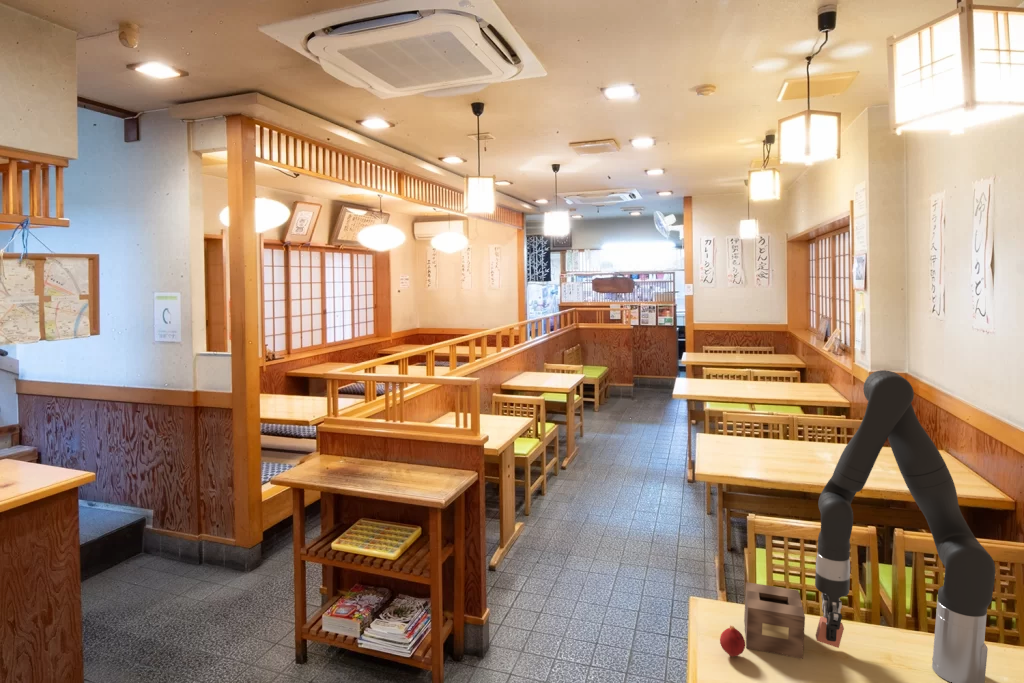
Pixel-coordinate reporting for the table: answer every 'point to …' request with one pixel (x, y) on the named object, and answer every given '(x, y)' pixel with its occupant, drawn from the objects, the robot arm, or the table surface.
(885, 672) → the table surface
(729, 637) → the red pomegranate
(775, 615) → the box
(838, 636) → the tall salmon pink box
